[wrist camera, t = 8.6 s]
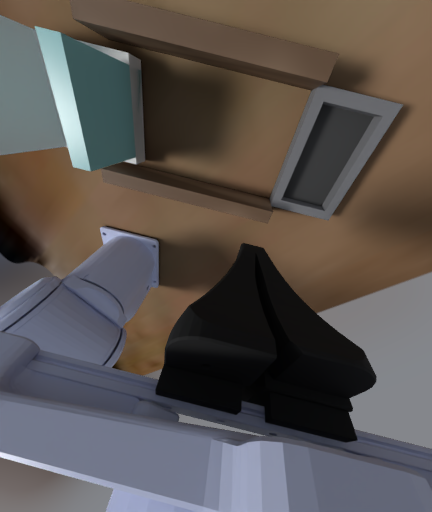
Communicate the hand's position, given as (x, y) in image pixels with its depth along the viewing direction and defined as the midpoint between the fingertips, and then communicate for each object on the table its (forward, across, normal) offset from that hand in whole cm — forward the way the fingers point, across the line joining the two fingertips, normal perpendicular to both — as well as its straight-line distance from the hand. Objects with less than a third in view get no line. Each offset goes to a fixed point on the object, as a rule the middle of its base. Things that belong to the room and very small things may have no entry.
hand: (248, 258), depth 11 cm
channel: (+10, +6, -5) cm, 13 cm away
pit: (+10, -5, -5) cm, 13 cm away
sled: (+10, +15, -5) cm, 19 cm away
